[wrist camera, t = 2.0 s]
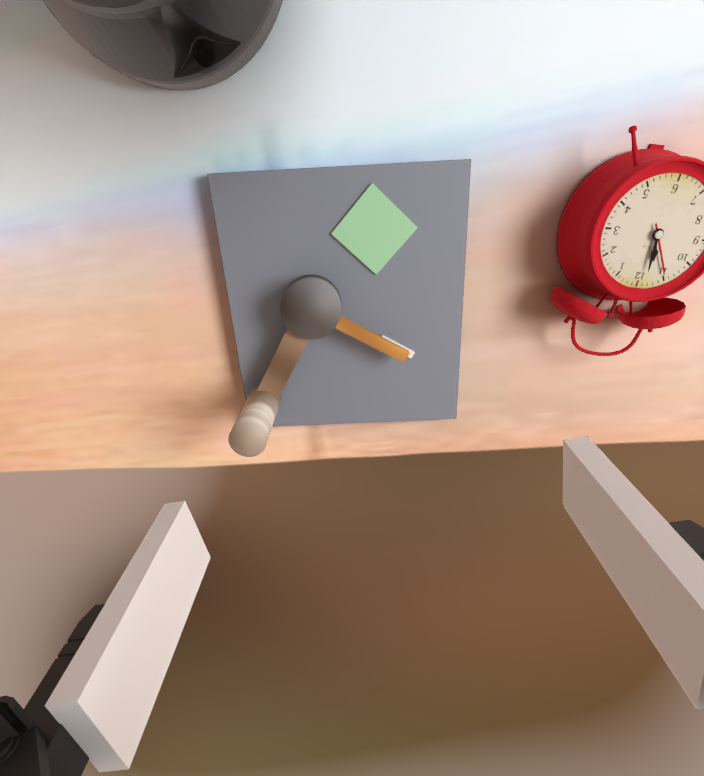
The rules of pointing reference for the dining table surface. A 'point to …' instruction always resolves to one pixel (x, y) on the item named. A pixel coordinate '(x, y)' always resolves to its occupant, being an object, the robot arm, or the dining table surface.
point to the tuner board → (349, 287)
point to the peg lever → (297, 355)
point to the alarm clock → (633, 238)
